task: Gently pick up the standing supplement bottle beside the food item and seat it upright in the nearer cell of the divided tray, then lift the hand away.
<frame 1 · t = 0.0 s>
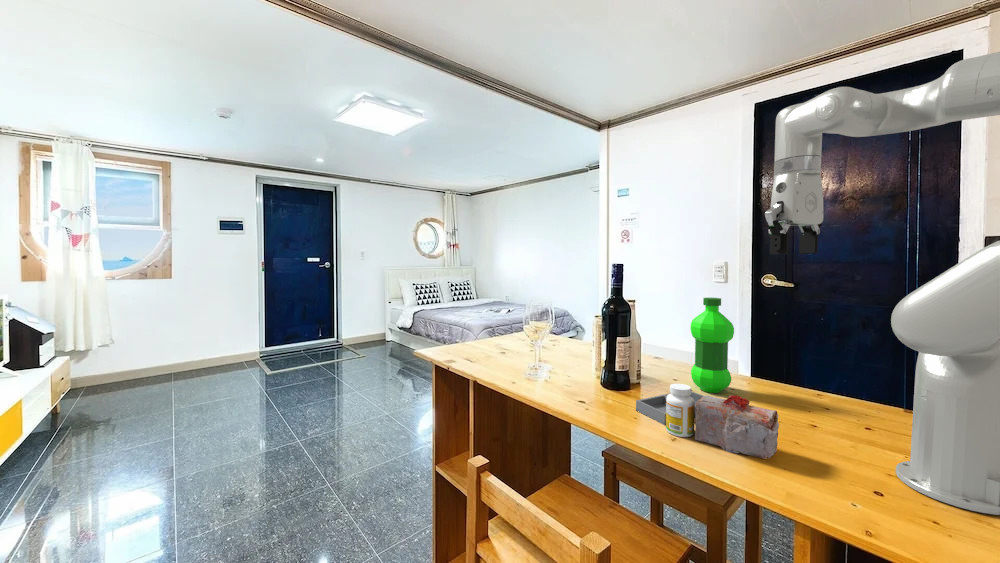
hand: (793, 253, 79), 37 cm above the table, tool pointing down, fingers open, 9 cm apart
supplement bottle: (679, 432, 81), on the table
food item: (734, 447, 74), on the table
divided tray: (676, 411, 91), on the table
plastic bottle: (710, 390, 105), on the table
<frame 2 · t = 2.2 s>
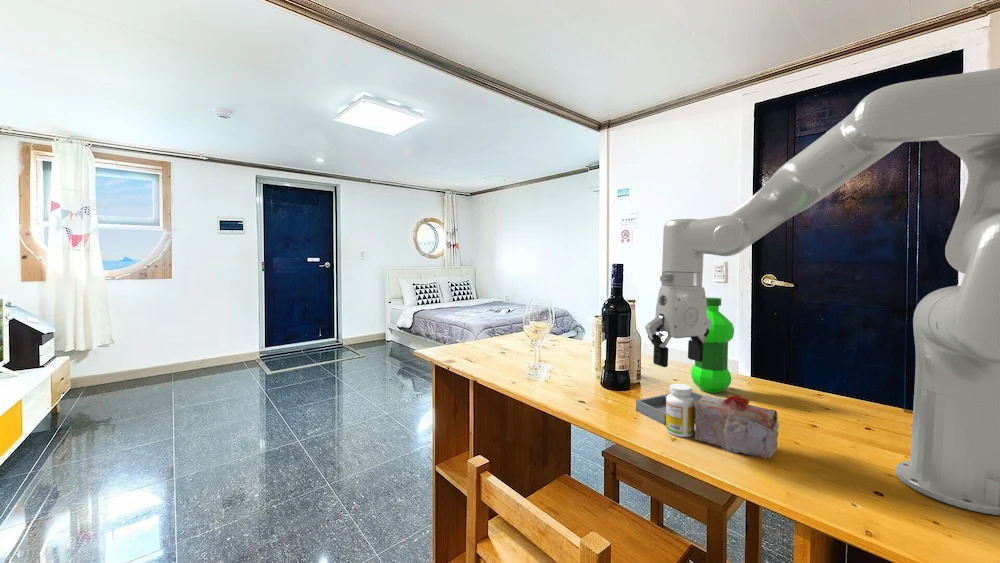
hand: (678, 362, 80), 15 cm above the table, tool pointing down, fingers open, 9 cm apart
nothing on the table moved.
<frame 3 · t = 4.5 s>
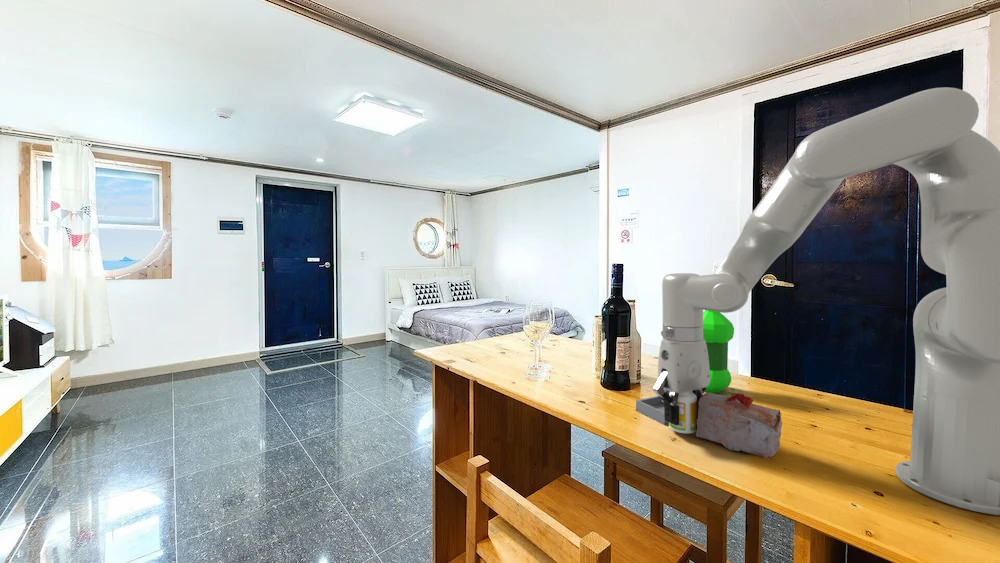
hand: (682, 418, 80), 3 cm above the table, tool pointing down, fingers closed on supplement bottle, 5 cm apart
supplement bottle: (682, 429, 80), point 1 cm above the table, touching gripper
food item: (735, 445, 74), on the table, touching gripper
everything else where it was.
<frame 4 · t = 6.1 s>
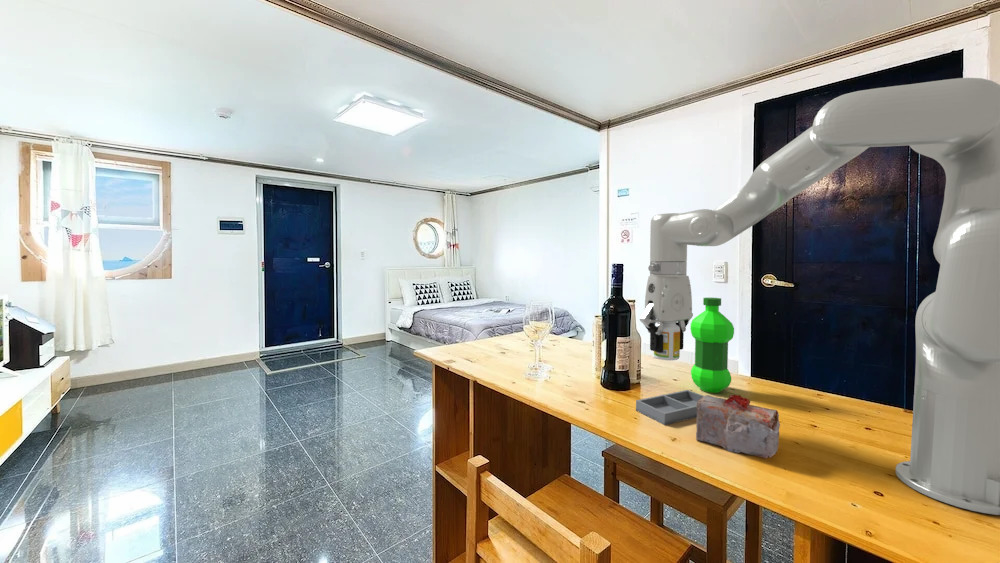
hand: (666, 349, 87), 16 cm above the table, tool pointing down, fingers closed on supplement bottle, 5 cm apart
supplement bottle: (666, 358, 87), point 13 cm above the table, touching gripper
food item: (735, 447, 74), on the table
everything else where it was.
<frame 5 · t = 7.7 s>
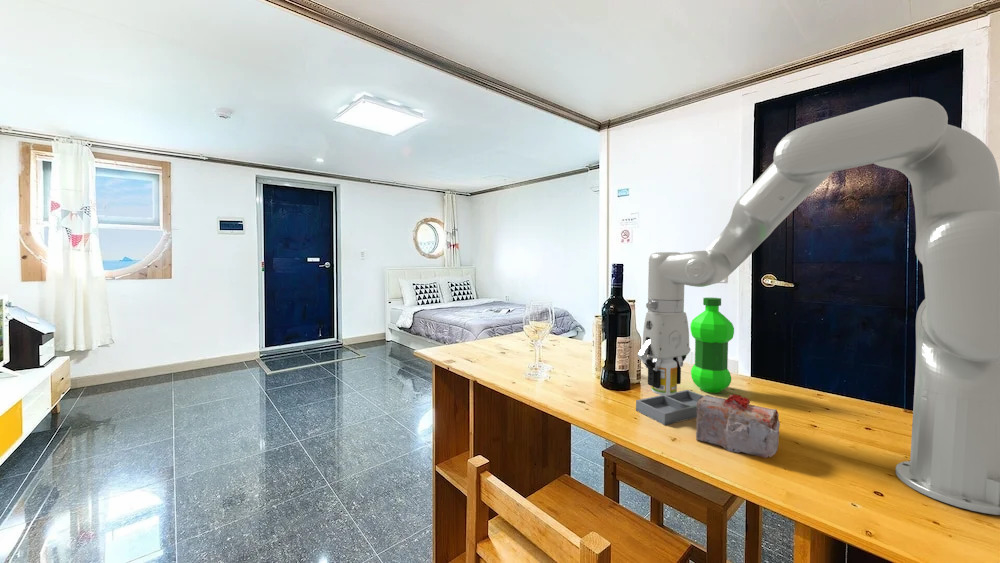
hand: (664, 383, 89), 7 cm above the table, tool pointing down, fingers closed on supplement bottle, 5 cm apart
supplement bottle: (663, 392, 89), point 5 cm above the table, touching gripper
everything else where it was.
when the fingers open (4 cm above the table, at t = 8.7 s): supplement bottle drops 1 cm, resting on divided tray.
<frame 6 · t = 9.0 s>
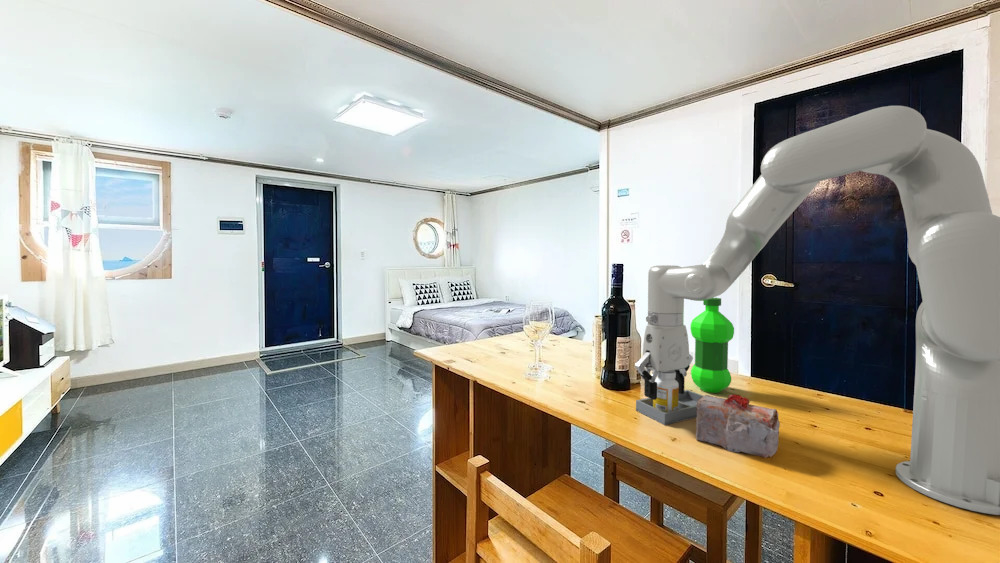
hand: (664, 394, 89), 5 cm above the table, tool pointing down, fingers open, 7 cm apart
supplement bottle: (665, 412, 89), resting on divided tray
everything else where it was.
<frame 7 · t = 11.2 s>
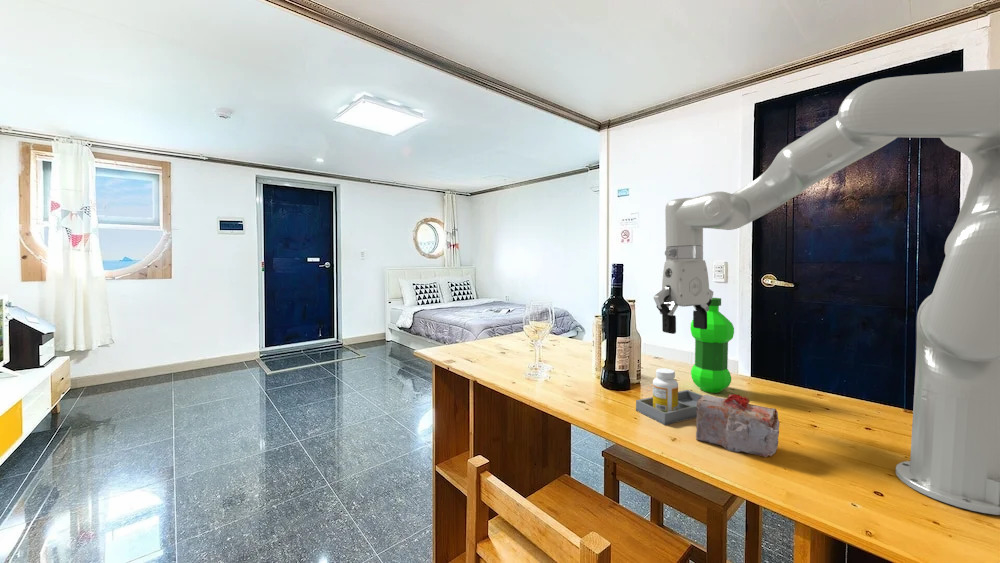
hand: (685, 330, 87), 20 cm above the table, tool pointing down, fingers open, 9 cm apart
nothing on the table moved.
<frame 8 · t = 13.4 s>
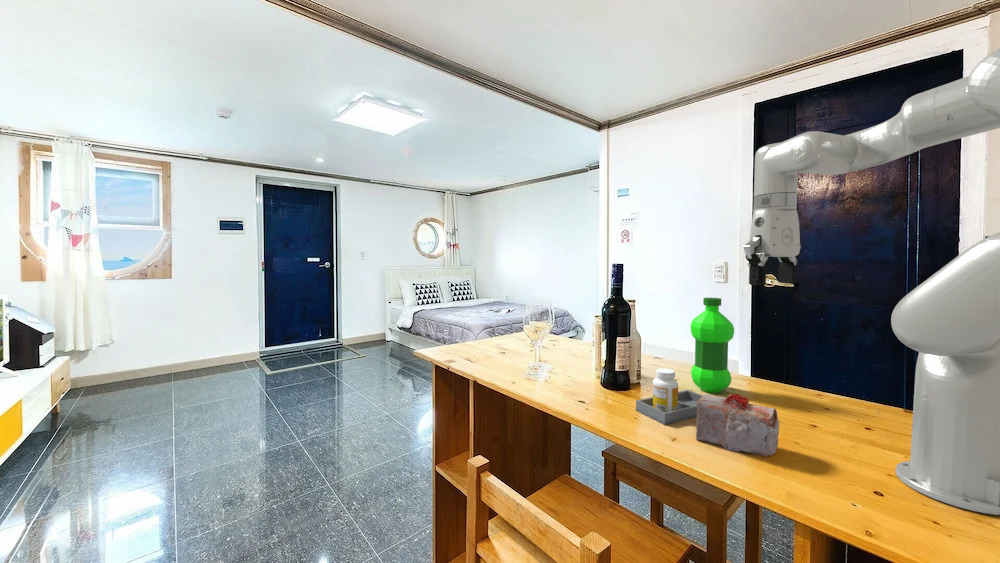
hand: (772, 283, 83), 30 cm above the table, tool pointing down, fingers open, 9 cm apart
nothing on the table moved.
at the end: supplement bottle 0.2 cm from the target spot on the divided tray, point 0.4 cm above the divided tray's base; supplement bottle tilted 0°; the gripper is holding nothing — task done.
